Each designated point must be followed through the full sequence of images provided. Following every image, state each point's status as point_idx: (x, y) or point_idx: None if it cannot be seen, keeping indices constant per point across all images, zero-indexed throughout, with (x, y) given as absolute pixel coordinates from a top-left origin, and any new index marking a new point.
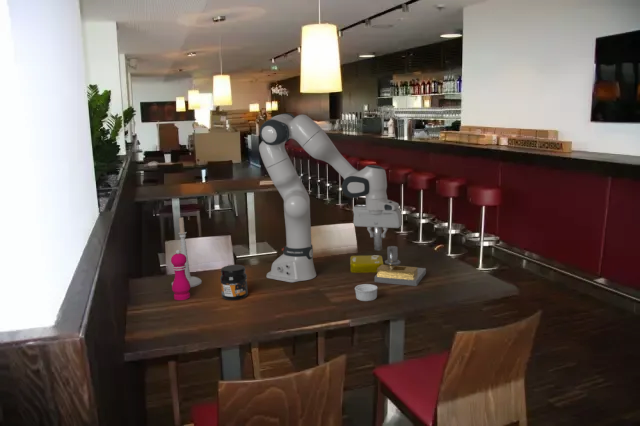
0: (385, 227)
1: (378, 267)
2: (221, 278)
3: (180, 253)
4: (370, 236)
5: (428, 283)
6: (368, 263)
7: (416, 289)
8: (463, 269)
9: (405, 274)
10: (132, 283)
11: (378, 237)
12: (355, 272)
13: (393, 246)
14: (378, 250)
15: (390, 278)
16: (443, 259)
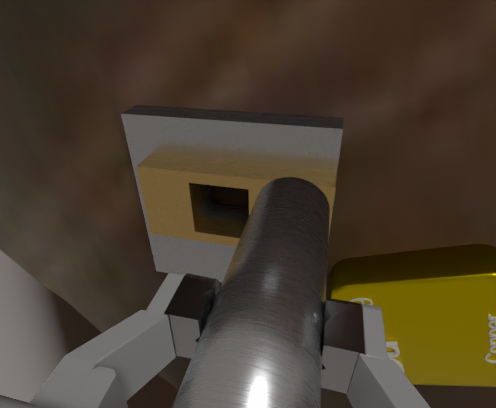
0: (15, 400)
1: (331, 212)
2: None
3: None
4: (377, 312)
5: (110, 151)
6: (406, 290)
7: (116, 56)
8: (85, 298)
9: (181, 162)
10: None
11: (243, 273)
12: (473, 245)
13: None
14: (279, 178)
15: (249, 121)
16: (171, 370)
